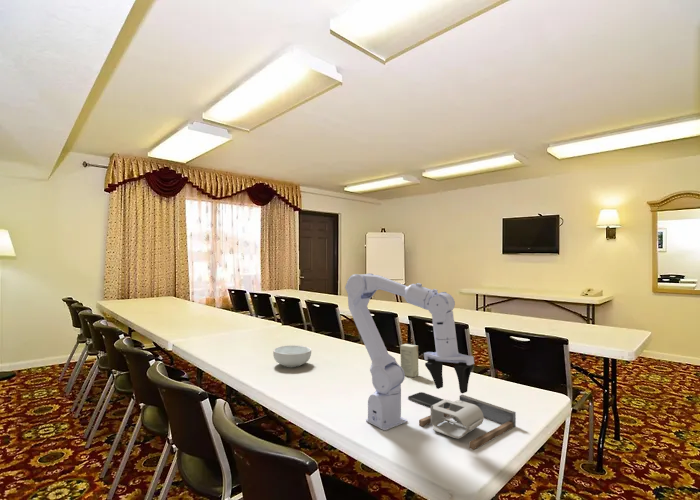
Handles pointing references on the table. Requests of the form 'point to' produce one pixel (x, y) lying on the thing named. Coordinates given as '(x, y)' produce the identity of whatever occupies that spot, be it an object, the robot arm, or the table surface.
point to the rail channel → (489, 412)
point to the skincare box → (409, 359)
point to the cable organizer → (456, 418)
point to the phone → (426, 399)
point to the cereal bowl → (292, 355)
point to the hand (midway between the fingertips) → (451, 390)
